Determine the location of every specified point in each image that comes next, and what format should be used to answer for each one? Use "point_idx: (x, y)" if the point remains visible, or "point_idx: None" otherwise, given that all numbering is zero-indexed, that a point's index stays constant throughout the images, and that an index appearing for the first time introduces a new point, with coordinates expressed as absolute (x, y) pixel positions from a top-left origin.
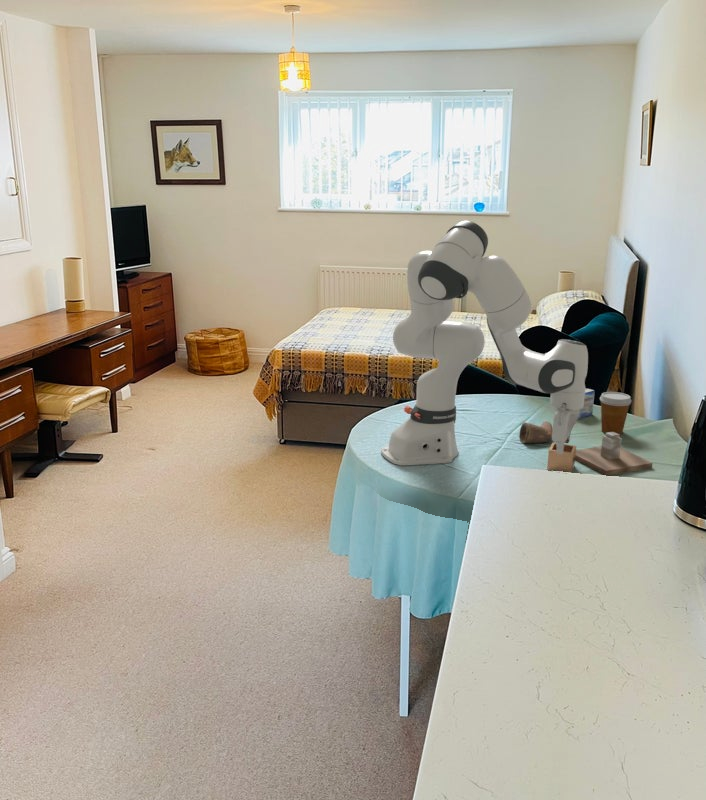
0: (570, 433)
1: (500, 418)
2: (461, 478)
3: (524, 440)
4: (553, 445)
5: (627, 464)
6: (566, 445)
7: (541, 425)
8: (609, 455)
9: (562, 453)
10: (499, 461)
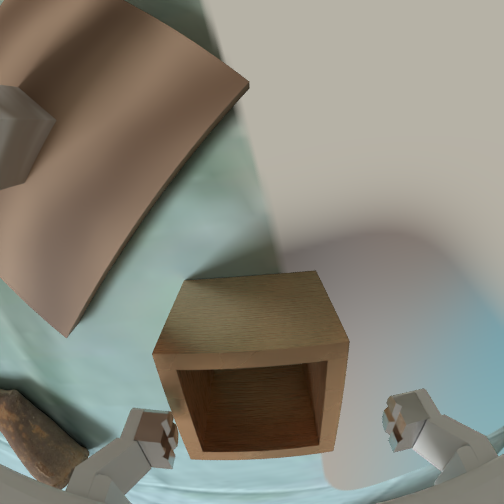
0: (119, 455)
1: (5, 462)
2: (431, 472)
3: (86, 458)
4: (237, 452)
5: (84, 17)
6: (187, 405)
7: None
8: (39, 121)
9: (423, 390)
10: (287, 478)
